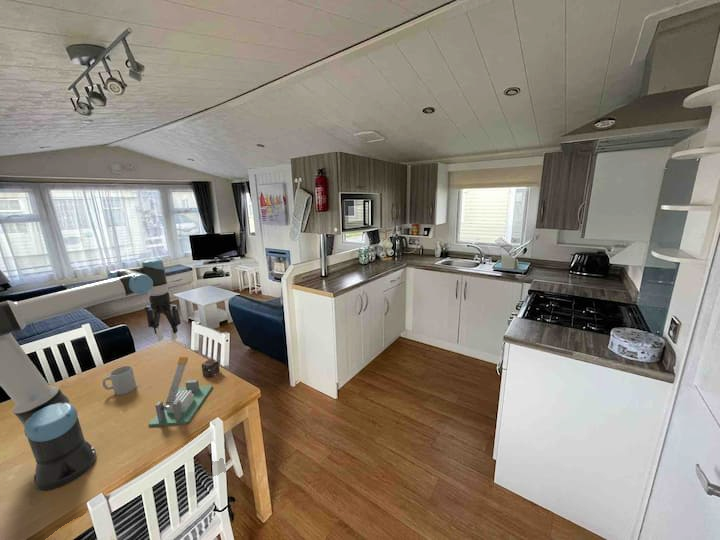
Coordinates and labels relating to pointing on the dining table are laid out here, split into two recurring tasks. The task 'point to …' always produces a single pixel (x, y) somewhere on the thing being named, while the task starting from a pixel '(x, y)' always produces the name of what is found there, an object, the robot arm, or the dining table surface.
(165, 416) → the heatsink board
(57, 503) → the dining table surface
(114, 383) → the mug
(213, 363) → the box
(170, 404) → the strap
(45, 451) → the robot arm
